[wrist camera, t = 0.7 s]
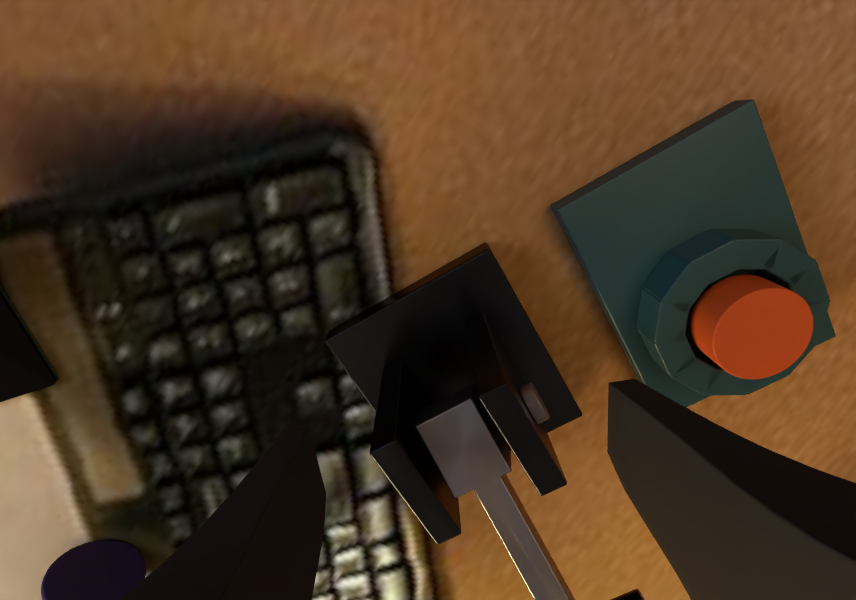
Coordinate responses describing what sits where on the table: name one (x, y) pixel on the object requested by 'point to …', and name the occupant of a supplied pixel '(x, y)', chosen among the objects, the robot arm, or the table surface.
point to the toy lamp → (94, 572)
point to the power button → (751, 326)
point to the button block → (690, 246)
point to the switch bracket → (454, 378)
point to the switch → (491, 485)
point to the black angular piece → (20, 355)
